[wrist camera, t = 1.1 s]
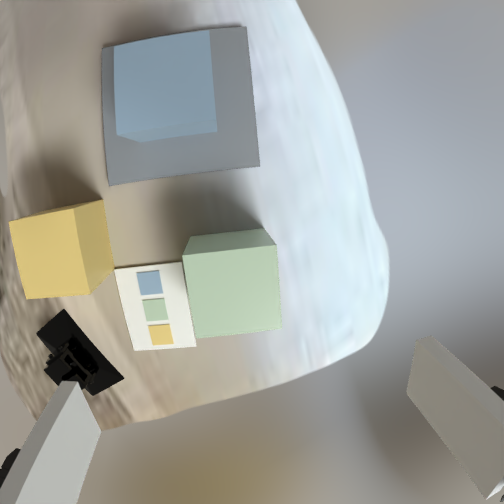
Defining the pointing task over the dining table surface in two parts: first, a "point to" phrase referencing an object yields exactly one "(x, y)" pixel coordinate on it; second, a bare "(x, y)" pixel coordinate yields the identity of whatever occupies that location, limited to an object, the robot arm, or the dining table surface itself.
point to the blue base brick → (164, 87)
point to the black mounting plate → (75, 356)
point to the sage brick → (233, 283)
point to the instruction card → (156, 306)
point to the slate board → (198, 145)
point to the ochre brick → (63, 250)
